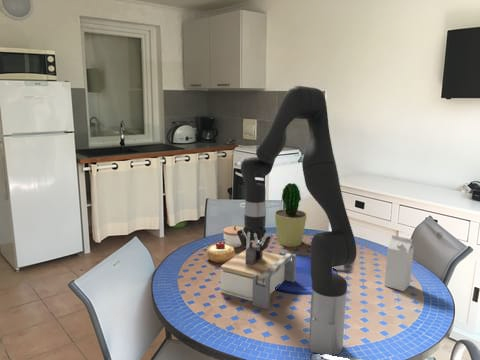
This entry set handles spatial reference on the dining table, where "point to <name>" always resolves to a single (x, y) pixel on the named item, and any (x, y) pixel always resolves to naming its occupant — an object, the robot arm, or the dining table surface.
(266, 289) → the white open box
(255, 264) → the door
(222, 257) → the pastry
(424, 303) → the dining table surface
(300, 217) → the potted cactus
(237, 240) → the lidded jar
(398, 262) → the milk carton
